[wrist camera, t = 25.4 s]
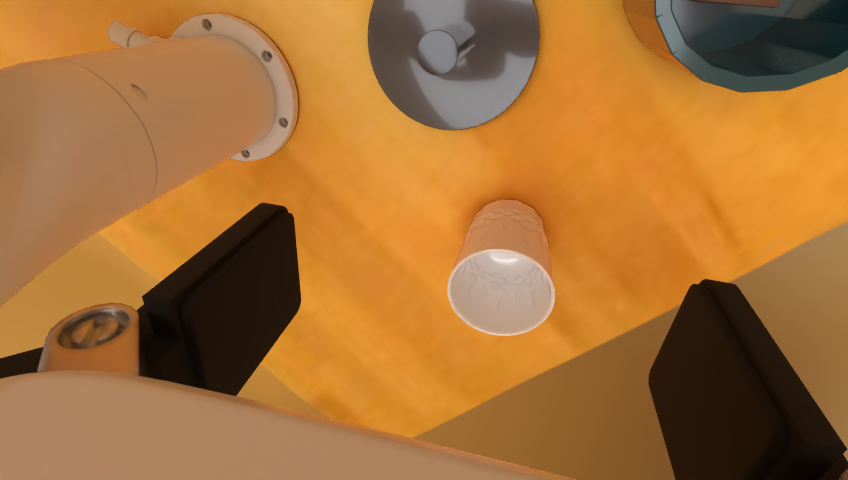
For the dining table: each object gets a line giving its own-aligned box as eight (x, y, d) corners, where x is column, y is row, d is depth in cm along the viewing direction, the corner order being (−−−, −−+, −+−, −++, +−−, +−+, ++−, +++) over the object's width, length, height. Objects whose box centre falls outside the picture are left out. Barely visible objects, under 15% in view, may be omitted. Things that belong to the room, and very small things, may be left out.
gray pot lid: (350, 82, 37) (320, 97, 32) (410, -94, 31) (384, -111, 25) (486, 153, 38) (478, 179, 33) (575, -5, 31) (583, -3, 26)
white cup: (532, 179, 38) (531, 234, 30) (563, 253, 41) (570, 322, 32) (451, 210, 41) (429, 267, 33) (485, 276, 44) (473, 345, 36)
